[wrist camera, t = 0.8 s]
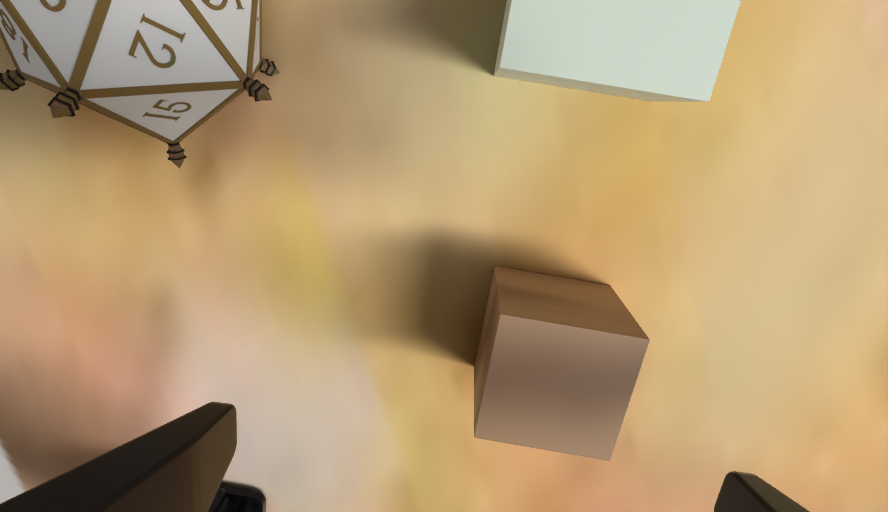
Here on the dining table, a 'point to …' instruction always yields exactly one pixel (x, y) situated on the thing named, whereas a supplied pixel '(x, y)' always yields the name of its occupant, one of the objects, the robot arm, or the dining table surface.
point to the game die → (138, 58)
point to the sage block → (618, 46)
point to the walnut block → (555, 364)
